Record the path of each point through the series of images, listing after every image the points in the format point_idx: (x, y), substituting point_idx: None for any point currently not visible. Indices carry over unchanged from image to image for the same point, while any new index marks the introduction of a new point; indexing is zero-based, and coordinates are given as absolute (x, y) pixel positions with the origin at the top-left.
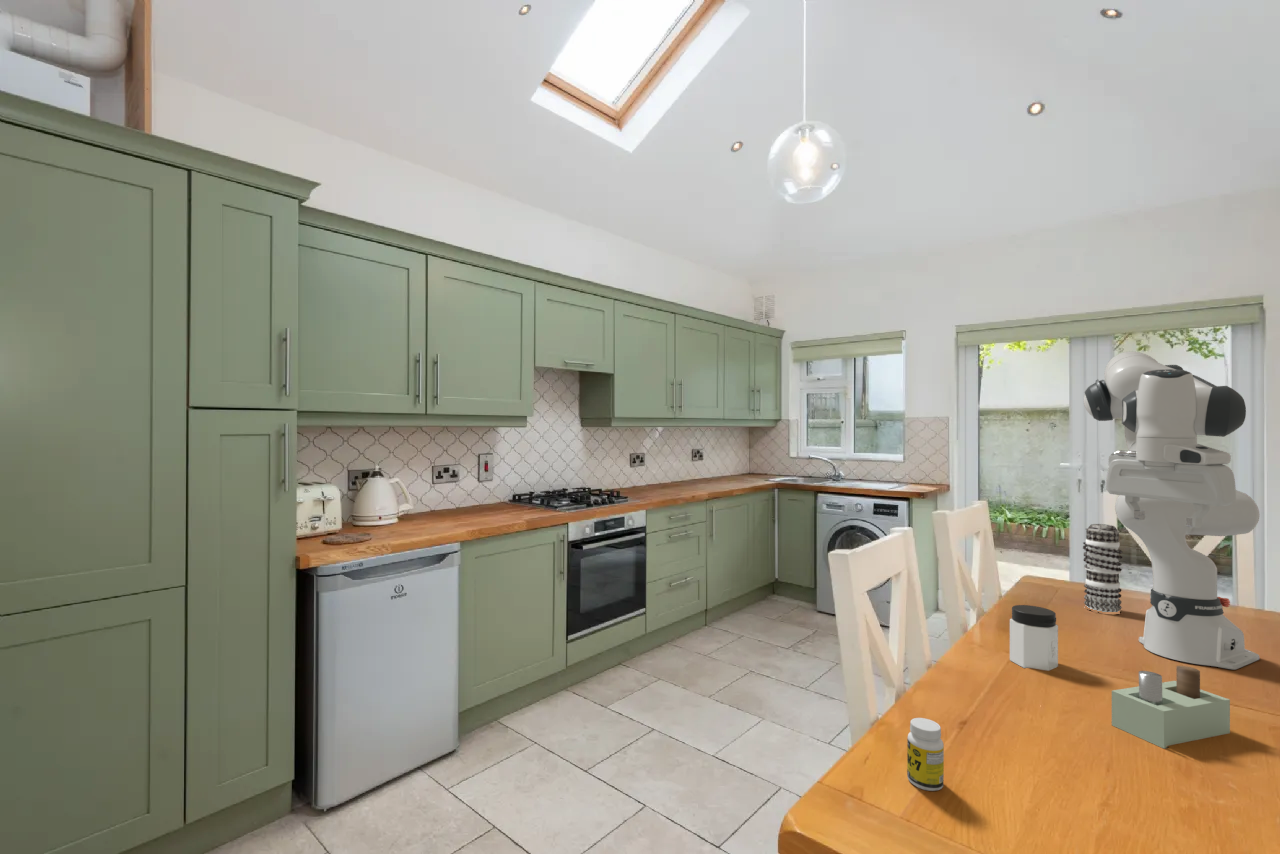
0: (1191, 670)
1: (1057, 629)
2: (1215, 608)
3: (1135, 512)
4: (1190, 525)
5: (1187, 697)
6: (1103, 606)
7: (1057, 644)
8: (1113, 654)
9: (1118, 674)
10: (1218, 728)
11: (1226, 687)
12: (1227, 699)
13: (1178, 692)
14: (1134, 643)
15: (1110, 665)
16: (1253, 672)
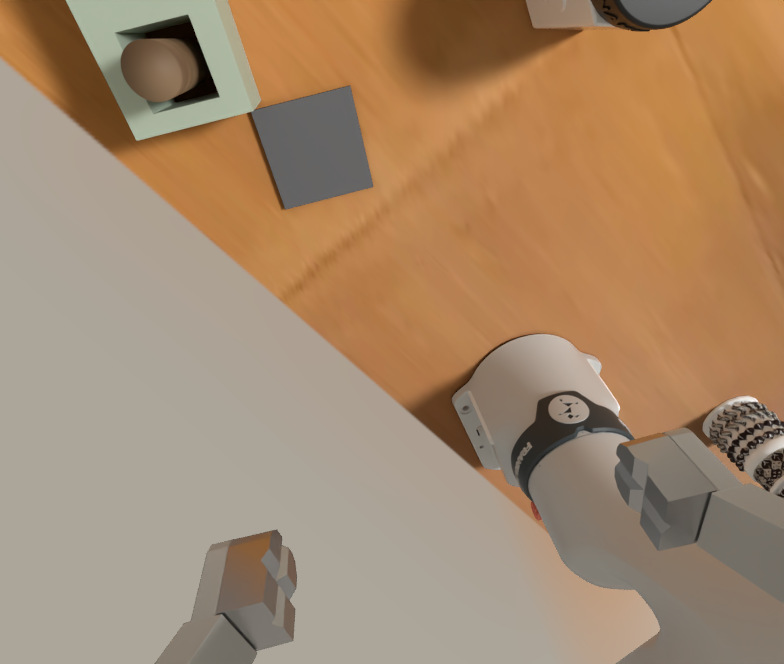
0: (138, 70)
1: (586, 21)
2: (515, 472)
3: (691, 478)
4: (237, 543)
5: (123, 22)
6: (730, 417)
7: (561, 21)
8: (561, 255)
9: (469, 167)
10: None
11: (388, 327)
12: (136, 135)
13: (170, 39)
14: (592, 343)
15: (515, 194)
16: (440, 417)
